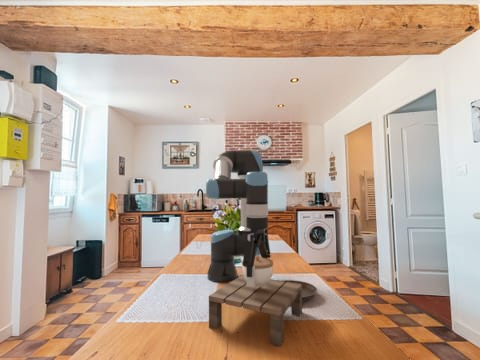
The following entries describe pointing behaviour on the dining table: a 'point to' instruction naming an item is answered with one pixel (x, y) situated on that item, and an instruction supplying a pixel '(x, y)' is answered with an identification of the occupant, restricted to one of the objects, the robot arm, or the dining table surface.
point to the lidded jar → (261, 271)
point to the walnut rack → (258, 303)
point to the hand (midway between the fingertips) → (257, 281)
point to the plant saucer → (305, 290)
